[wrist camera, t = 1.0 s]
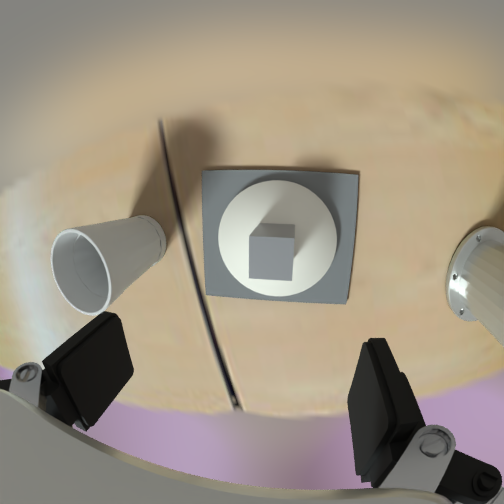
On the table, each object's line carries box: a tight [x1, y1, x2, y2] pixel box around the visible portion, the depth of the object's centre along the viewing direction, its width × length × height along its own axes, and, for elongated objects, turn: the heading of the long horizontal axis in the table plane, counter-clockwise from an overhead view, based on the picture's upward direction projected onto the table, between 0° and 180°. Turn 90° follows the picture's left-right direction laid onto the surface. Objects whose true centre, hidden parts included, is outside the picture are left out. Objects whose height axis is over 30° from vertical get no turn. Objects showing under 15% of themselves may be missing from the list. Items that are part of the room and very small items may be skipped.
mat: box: [202, 170, 358, 304], centre depth 28 cm, size 16×14×1 cm
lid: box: [218, 180, 337, 296], centre depth 25 cm, size 12×12×7 cm
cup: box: [51, 215, 166, 315], centre depth 26 cm, size 8×8×12 cm
